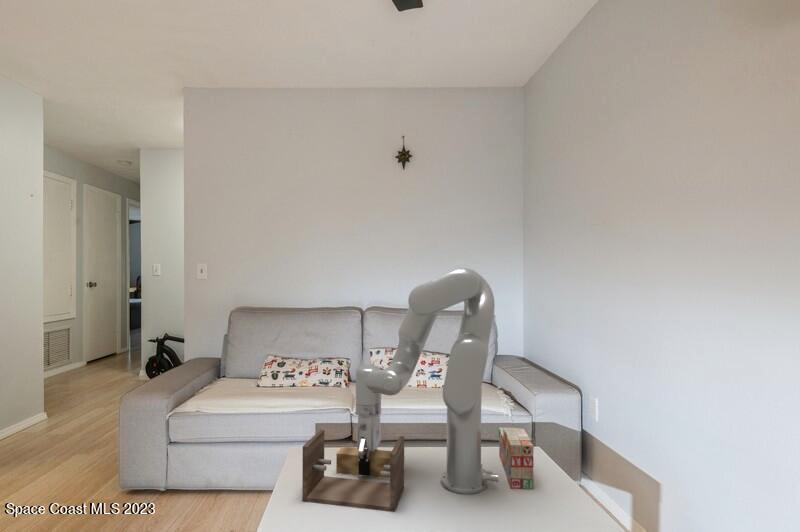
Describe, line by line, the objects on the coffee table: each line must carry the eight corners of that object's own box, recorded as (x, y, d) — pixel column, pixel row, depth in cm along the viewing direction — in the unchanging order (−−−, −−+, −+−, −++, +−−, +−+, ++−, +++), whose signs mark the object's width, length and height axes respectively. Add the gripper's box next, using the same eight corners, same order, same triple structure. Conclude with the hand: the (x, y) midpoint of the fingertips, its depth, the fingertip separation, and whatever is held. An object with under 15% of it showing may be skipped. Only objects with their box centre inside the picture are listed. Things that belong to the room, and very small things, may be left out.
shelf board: (399, 472, 128) (399, 451, 128) (396, 480, 123) (396, 458, 123) (342, 466, 131) (342, 446, 132) (336, 474, 127) (336, 453, 127)
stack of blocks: (498, 456, 139) (498, 417, 139) (518, 456, 138) (518, 418, 138) (510, 489, 117) (510, 443, 118) (533, 490, 117) (533, 444, 117)
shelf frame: (404, 487, 118) (404, 436, 118) (394, 511, 106) (394, 454, 106) (320, 479, 123) (320, 429, 123) (302, 501, 111) (302, 446, 111)
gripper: (372, 418, 118) (372, 483, 118) (387, 400, 135) (387, 457, 135) (346, 416, 120) (346, 480, 119) (364, 398, 137) (364, 454, 136)
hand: (368, 467), depth 127 cm, fingers open, 7 cm apart
